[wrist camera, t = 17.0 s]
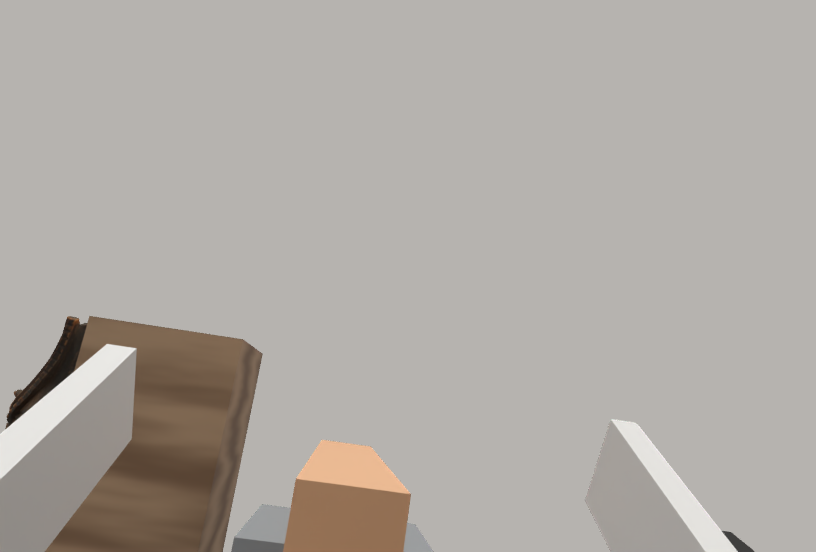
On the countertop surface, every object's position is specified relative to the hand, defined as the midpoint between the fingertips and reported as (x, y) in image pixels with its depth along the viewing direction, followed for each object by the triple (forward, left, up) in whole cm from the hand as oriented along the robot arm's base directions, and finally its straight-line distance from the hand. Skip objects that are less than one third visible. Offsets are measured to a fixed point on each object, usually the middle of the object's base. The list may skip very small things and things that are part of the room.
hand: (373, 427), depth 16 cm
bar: (-4, +15, -5) cm, 16 cm away
